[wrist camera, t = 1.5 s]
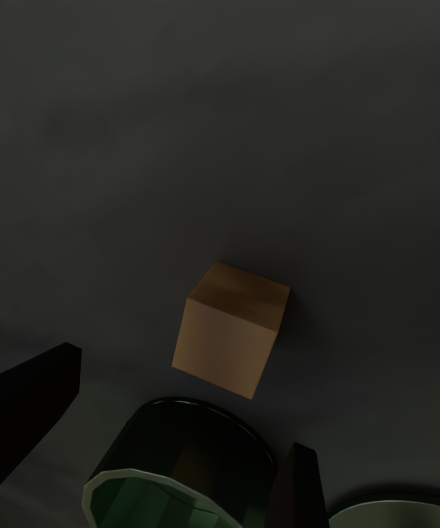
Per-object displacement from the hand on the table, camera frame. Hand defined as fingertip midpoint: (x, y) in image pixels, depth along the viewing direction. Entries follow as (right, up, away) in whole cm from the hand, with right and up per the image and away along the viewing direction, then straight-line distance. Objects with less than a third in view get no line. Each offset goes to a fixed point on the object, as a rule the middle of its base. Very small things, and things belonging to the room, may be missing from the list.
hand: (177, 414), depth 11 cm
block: (+3, +3, +8) cm, 9 cm away
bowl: (0, -9, +14) cm, 17 cm away
